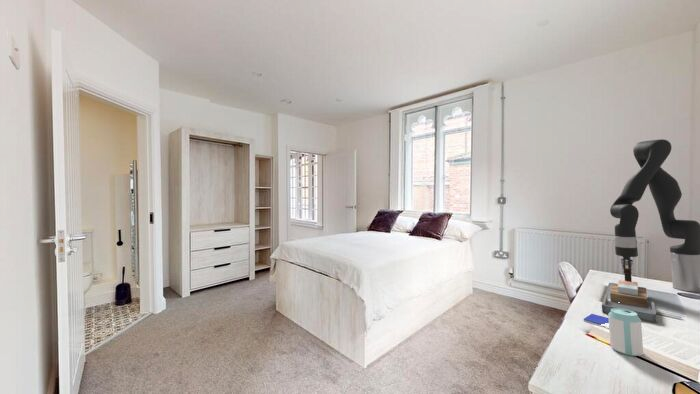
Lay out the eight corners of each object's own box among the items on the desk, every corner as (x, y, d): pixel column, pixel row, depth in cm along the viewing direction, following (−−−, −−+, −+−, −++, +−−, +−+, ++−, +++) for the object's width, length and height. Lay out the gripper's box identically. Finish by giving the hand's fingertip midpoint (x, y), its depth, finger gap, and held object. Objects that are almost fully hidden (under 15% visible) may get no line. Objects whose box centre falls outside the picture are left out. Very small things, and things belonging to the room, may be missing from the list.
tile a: (619, 285, 127) (619, 280, 127) (637, 287, 123) (637, 282, 123) (618, 288, 123) (618, 283, 123) (638, 291, 119) (637, 285, 119)
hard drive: (636, 324, 96) (592, 313, 106) (629, 331, 92) (583, 318, 102) (637, 329, 96) (592, 317, 106) (629, 335, 92) (583, 322, 102)
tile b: (618, 288, 123) (618, 283, 123) (637, 291, 118) (637, 286, 118) (618, 292, 119) (617, 286, 119) (638, 295, 114) (637, 289, 114)
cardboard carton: (613, 291, 131) (612, 283, 131) (646, 296, 123) (646, 287, 123) (610, 302, 118) (610, 293, 118) (647, 308, 110) (647, 298, 110)
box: (605, 301, 119) (604, 294, 120) (654, 309, 109) (654, 302, 109) (602, 312, 109) (601, 305, 109) (656, 323, 98) (656, 314, 98)
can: (609, 342, 87) (606, 305, 87) (640, 349, 83) (638, 310, 83) (611, 352, 82) (609, 313, 82) (645, 360, 77) (642, 318, 77)
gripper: (637, 248, 121) (640, 287, 121) (637, 244, 130) (639, 280, 130) (614, 247, 127) (616, 283, 127) (615, 243, 136) (617, 277, 136)
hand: (628, 282), depth 128 cm, fingers closed
